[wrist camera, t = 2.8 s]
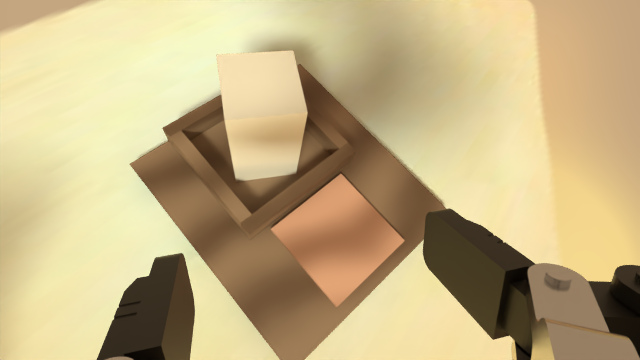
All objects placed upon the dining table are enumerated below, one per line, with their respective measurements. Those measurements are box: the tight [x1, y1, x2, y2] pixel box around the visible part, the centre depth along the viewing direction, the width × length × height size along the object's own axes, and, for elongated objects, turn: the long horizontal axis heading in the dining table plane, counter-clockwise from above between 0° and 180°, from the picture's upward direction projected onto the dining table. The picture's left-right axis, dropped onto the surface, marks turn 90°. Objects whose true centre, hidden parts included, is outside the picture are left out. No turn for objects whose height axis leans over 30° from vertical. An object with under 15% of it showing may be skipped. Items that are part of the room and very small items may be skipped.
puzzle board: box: [130, 64, 446, 360], centre depth 29 cm, size 20×18×3 cm
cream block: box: [216, 50, 308, 182], centre depth 26 cm, size 5×5×9 cm
